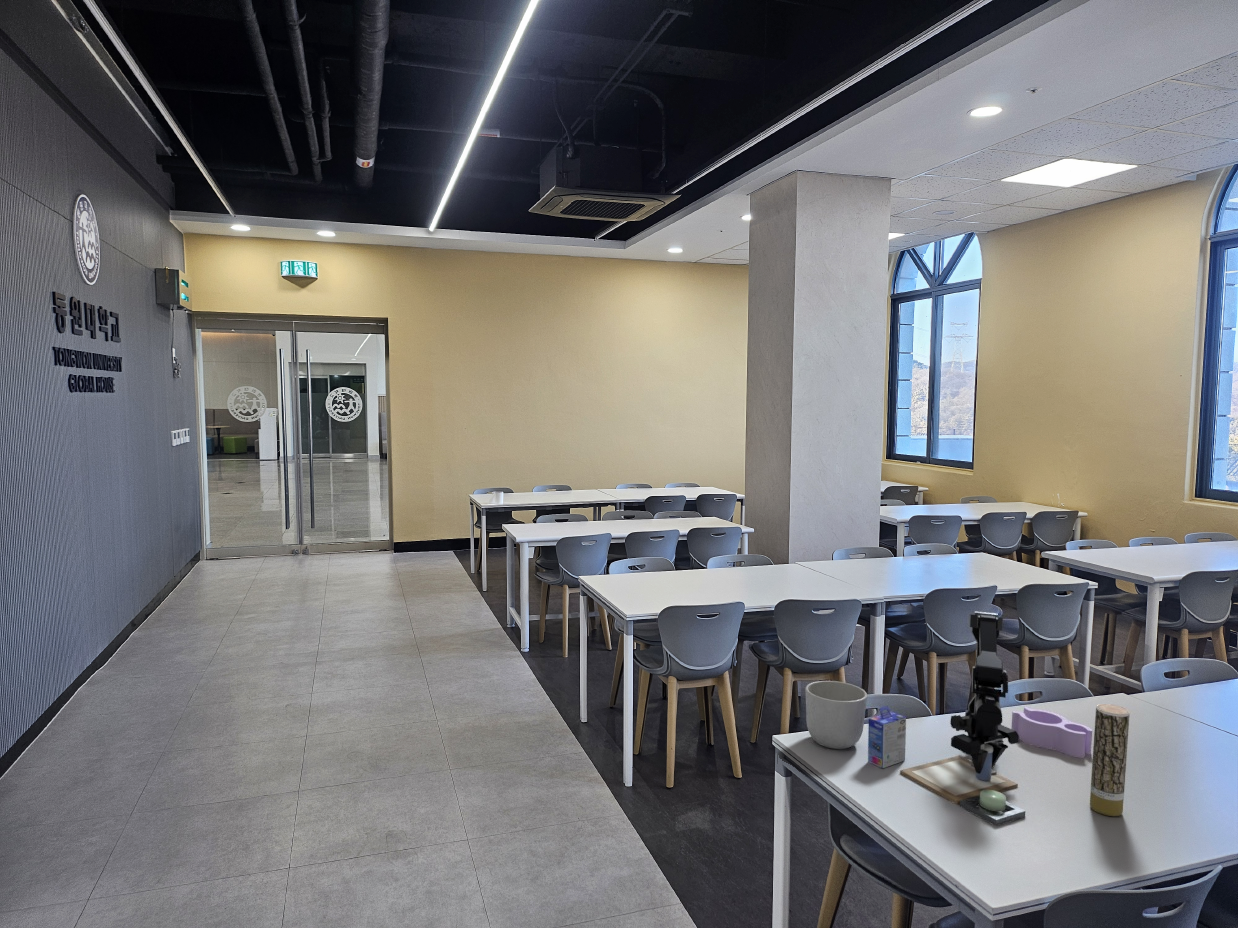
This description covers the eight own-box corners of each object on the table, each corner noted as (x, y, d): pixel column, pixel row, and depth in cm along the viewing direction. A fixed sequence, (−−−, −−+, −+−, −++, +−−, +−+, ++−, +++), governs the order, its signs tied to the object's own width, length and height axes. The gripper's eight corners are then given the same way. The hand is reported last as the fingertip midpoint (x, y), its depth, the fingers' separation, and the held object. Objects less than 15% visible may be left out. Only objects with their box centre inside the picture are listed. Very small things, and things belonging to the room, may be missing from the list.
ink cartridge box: (889, 753, 221) (891, 702, 220) (906, 760, 216) (908, 708, 215) (865, 761, 215) (868, 709, 214) (882, 769, 211) (885, 716, 210)
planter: (813, 726, 238) (815, 676, 237) (871, 739, 230) (873, 687, 229) (795, 746, 224) (797, 693, 223) (856, 760, 215) (858, 706, 214)
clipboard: (959, 758, 218) (959, 753, 218) (1017, 786, 202) (1017, 781, 202) (900, 772, 209) (900, 767, 208) (956, 804, 192) (956, 798, 192)
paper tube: (1122, 820, 186) (1129, 716, 185) (1089, 812, 190) (1095, 710, 188) (1122, 808, 192) (1129, 707, 190) (1089, 800, 196) (1096, 701, 194)
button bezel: (988, 797, 196) (988, 791, 196) (1025, 816, 187) (1025, 810, 187) (960, 806, 192) (960, 800, 191) (996, 825, 183) (996, 819, 182)
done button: (990, 797, 193) (991, 787, 193) (1010, 808, 188) (1011, 798, 188) (974, 802, 190) (974, 792, 190) (994, 813, 185) (995, 802, 185)
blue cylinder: (981, 774, 207) (983, 742, 206) (994, 780, 203) (996, 747, 203) (971, 776, 205) (973, 744, 204) (984, 783, 202) (986, 750, 201)
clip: (1097, 751, 225) (1099, 727, 225) (1076, 761, 218) (1078, 736, 218) (1028, 727, 242) (1029, 704, 241) (1005, 735, 235) (1007, 713, 234)
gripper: (984, 696, 214) (981, 752, 216) (935, 706, 206) (932, 765, 207) (1021, 710, 205) (1018, 769, 206) (971, 722, 196) (968, 783, 197)
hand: (983, 771), depth 204 cm, fingers closed on blue cylinder, 4 cm apart
